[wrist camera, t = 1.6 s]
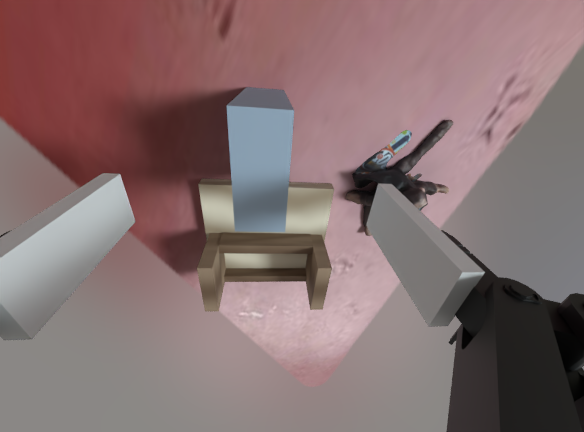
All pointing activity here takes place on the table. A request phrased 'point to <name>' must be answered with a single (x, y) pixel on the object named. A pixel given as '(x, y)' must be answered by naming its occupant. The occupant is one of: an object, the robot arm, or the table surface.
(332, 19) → the table surface
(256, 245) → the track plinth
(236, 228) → the light blue rectangular block
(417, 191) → the stuffed animal
